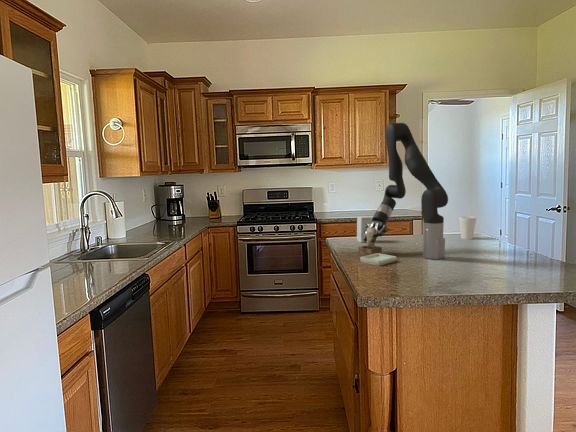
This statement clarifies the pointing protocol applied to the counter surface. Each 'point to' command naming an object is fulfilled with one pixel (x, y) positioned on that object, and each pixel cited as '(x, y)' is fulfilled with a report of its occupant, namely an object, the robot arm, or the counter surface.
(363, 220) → the skincare box
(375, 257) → the tray
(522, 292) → the counter surface
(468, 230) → the foam cup
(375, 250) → the box
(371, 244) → the dowel
